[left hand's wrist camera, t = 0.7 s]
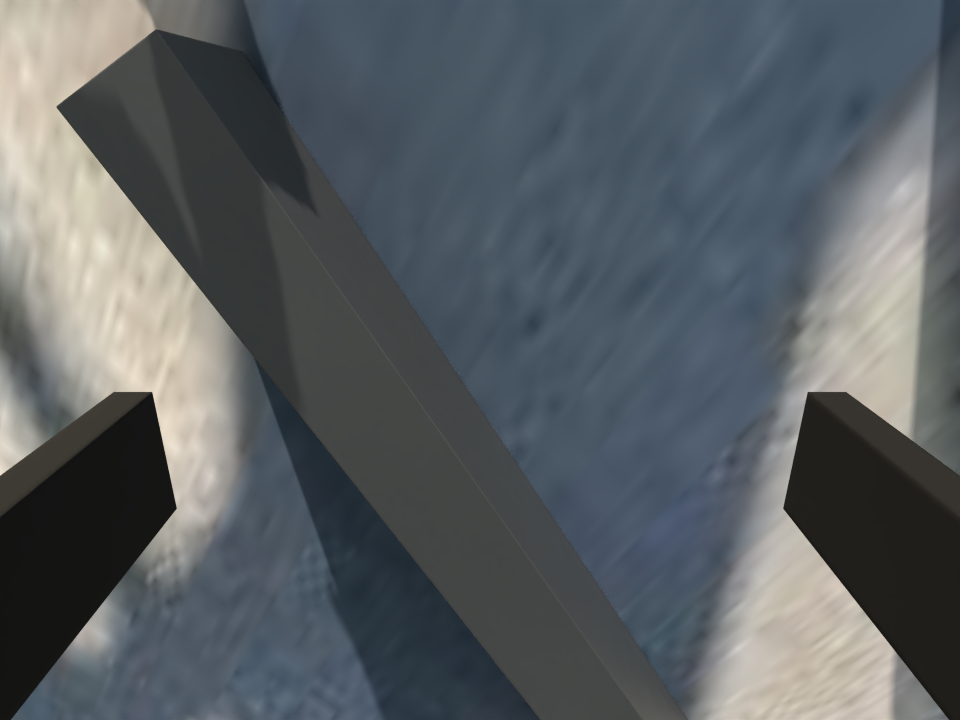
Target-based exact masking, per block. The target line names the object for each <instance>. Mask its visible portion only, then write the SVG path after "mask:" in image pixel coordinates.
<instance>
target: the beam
mask: <svg viewBox="0 0 960 720" xmlns="http://www.w3.org/2000/svg"><path fill="white" fill-rule="evenodd" d="M57 109H58V110H59V111H60V112H61V114H62V115H63V116H64V118H65V119H66V120H67V121H68V123H69V124H70V125H71V126H72V128H73V129H74V130H75V131H76V133H77V134H78V135H79V137H80V138H81V139H82V140H83V142H84V143H85V144H86V145H87V147H88V148H89V149H90V150H91V152H92V153H93V154H94V155H95V157H96V158H97V159H98V161H99V162H100V163H101V164H102V166H103V167H104V168H105V169H106V171H107V172H108V173H109V174H110V176H111V177H112V178H113V180H114V181H115V182H116V183H117V185H118V186H119V187H120V188H121V190H122V191H123V192H124V193H125V195H126V196H127V197H128V199H129V200H130V201H131V202H132V204H133V205H134V206H135V207H136V209H137V210H138V211H139V212H140V214H141V215H142V216H143V218H144V219H145V220H146V221H147V223H148V224H149V225H150V226H151V228H152V229H153V230H154V231H155V233H156V234H157V235H158V236H159V238H160V239H161V240H162V242H163V243H164V244H165V245H166V247H167V248H168V249H169V250H170V252H171V253H172V254H173V255H174V257H175V258H176V259H177V261H178V262H179V263H180V264H181V266H182V267H183V268H184V269H185V271H186V272H187V273H188V274H189V276H190V277H191V278H192V280H193V281H194V282H195V283H196V285H197V286H198V287H199V288H200V290H201V291H202V292H203V293H204V295H205V296H206V297H207V299H208V300H209V301H210V302H211V304H212V305H213V306H214V307H215V309H216V310H217V311H218V312H219V314H220V315H221V316H222V317H223V319H224V320H225V321H226V323H227V324H228V325H229V326H230V328H231V329H232V330H233V331H234V333H235V334H236V335H237V336H238V338H239V339H240V340H241V342H242V343H243V344H244V345H245V347H246V348H247V349H248V350H249V352H250V353H251V354H252V355H253V357H254V358H255V359H256V361H257V362H258V363H259V364H260V366H261V367H262V368H263V369H264V371H265V372H266V373H267V374H268V376H269V377H270V378H271V380H272V381H273V382H274V383H275V385H276V386H277V387H278V388H279V390H280V391H281V392H282V393H283V395H284V396H285V397H286V398H287V400H288V401H289V402H290V404H291V405H292V406H293V407H294V409H295V410H296V411H297V412H298V414H299V415H300V416H301V417H302V419H303V420H304V421H305V423H306V424H307V425H308V426H309V428H310V429H311V430H312V431H313V433H314V434H315V435H316V436H317V438H318V439H319V440H320V442H321V443H322V444H323V445H324V447H325V448H326V449H327V450H328V452H329V453H330V454H331V455H332V457H333V458H334V459H335V460H336V462H337V463H338V464H339V466H340V467H341V468H342V469H343V471H344V472H345V473H346V474H347V476H348V477H349V478H350V479H351V481H352V482H353V483H354V485H355V486H356V487H357V488H358V490H359V491H360V492H361V493H362V495H363V496H364V497H365V498H366V500H367V501H368V502H369V504H370V505H371V506H372V507H373V509H374V510H375V511H376V512H377V514H378V515H379V516H380V517H381V519H382V520H383V521H384V523H385V524H386V525H387V526H388V528H389V529H390V530H391V531H392V533H393V534H394V535H395V536H396V538H397V539H398V540H399V541H400V543H401V544H402V545H403V547H404V548H405V549H406V550H407V552H408V553H409V554H410V555H411V557H412V558H413V559H414V560H415V562H416V563H417V564H418V566H419V567H420V568H421V569H422V571H423V572H424V573H425V574H426V576H427V577H428V578H429V579H430V581H431V582H432V583H433V585H434V586H435V587H436V588H437V590H438V591H439V592H440V593H441V595H442V596H443V597H444V598H445V600H446V601H447V602H448V604H449V605H450V606H451V607H452V609H453V610H454V611H455V612H456V614H457V615H458V616H459V617H460V619H461V620H462V621H463V622H464V624H465V625H466V626H467V628H468V629H469V630H470V631H471V633H472V634H473V635H474V636H475V638H476V639H477V640H478V641H479V643H480V644H481V645H482V647H483V648H484V649H485V650H486V652H487V653H488V654H489V655H490V657H491V658H492V659H493V660H494V662H495V663H496V664H497V666H498V667H499V668H500V669H501V671H502V672H503V673H504V674H505V676H506V677H507V678H508V679H509V681H510V682H511V683H512V685H513V686H514V687H515V688H516V690H517V691H518V692H519V693H520V695H521V696H522V697H523V698H524V700H525V701H526V702H527V703H528V705H529V706H530V707H531V709H532V710H533V711H534V712H535V714H536V715H537V716H538V717H539V719H540V720H688V719H687V718H686V716H685V715H684V713H683V712H682V710H681V709H680V707H679V706H678V704H677V703H676V701H675V700H674V698H673V697H672V695H671V694H670V692H669V691H668V689H667V688H666V686H665V685H664V683H663V682H662V680H661V679H660V677H659V676H658V674H657V673H656V671H655V670H654V668H653V667H652V665H651V664H650V662H649V661H648V659H647V658H646V656H645V655H644V653H643V652H642V650H641V649H640V647H639V646H638V644H637V643H636V641H635V640H634V638H633V637H632V635H631V634H630V632H629V631H628V629H627V628H626V626H625V625H624V623H623V622H622V620H621V619H620V617H619V616H618V614H617V613H616V611H615V610H614V608H613V607H612V605H611V604H610V602H609V601H608V599H607V598H606V596H605V595H604V593H603V592H602V590H601V589H600V587H599V586H598V584H597V583H596V581H595V580H594V578H593V577H592V575H591V574H590V572H589V571H588V569H587V568H586V566H585V565H584V563H583V562H582V560H581V559H580V558H579V556H578V555H577V553H576V552H575V550H574V549H573V547H572V546H571V544H570V543H569V541H568V540H567V538H566V537H565V535H564V534H563V532H562V531H561V529H560V528H559V526H558V525H557V523H556V522H555V520H554V519H553V517H552V516H551V514H550V513H549V511H548V510H547V508H546V507H545V505H544V504H543V502H542V501H541V499H540V498H539V496H538V495H537V493H536V492H535V490H534V489H533V487H532V486H531V484H530V483H529V481H528V480H527V478H526V477H525V475H524V474H523V472H522V471H521V469H520V468H519V466H518V465H517V463H516V462H515V460H514V459H513V457H512V456H511V454H510V453H509V451H508V450H507V448H506V447H505V445H504V444H503V442H502V441H501V439H500V438H499V436H498V435H497V433H496V432H495V430H494V429H493V427H492V426H491V424H490V423H489V421H488V420H487V418H486V417H485V415H484V414H483V412H482V411H481V409H480V408H479V406H478V405H477V403H476V402H475V400H474V399H473V397H472V396H471V394H470V393H469V391H468V390H467V388H466V387H465V385H464V384H463V382H462V381H461V379H460V378H459V376H458V375H457V373H456V372H455V370H454V369H453V367H452V366H451V364H450V363H449V361H448V360H447V358H446V357H445V355H444V354H443V352H442V351H441V349H440V348H439V346H438V345H437V343H436V342H435V340H434V339H433V337H432V336H431V334H430V333H429V331H428V330H427V328H426V327H425V325H424V324H423V322H422V321H421V319H420V318H419V316H418V315H417V313H416V312H415V310H414V309H413V307H412V306H411V304H410V303H409V301H408V300H407V298H406V297H405V295H404V294H403V292H402V291H401V289H400V288H399V286H398V285H397V283H396V282H395V280H394V279H393V277H392V276H391V274H390V273H389V271H388V270H387V268H386V267H385V265H384V264H383V262H382V261H381V259H380V258H379V256H378V255H377V253H376V252H375V250H374V249H373V247H372V246H371V244H370V243H369V241H368V240H367V238H366V237H365V235H364V234H363V232H362V231H361V229H360V228H359V226H358V225H357V223H356V222H355V220H354V219H353V217H352V216H351V214H350V213H349V211H348V210H347V208H346V207H345V205H344V204H343V202H342V201H341V199H340V198H339V196H338V195H337V193H336V192H335V190H334V189H333V187H332V186H331V184H330V183H329V181H328V180H327V178H326V177H325V175H324V174H323V172H322V171H321V169H320V168H319V166H318V165H317V163H316V162H315V160H314V159H313V157H312V156H311V154H310V153H309V151H308V150H307V148H306V147H305V145H304V144H303V142H302V141H301V139H300V138H299V136H298V135H297V133H296V132H295V130H294V129H293V127H292V126H291V124H290V123H289V121H288V120H287V118H286V117H285V115H284V114H283V112H282V111H281V109H280V108H279V106H278V105H277V103H276V102H275V100H274V99H273V97H272V96H271V94H270V93H269V91H268V90H267V88H266V87H265V85H264V84H263V82H262V81H261V79H260V78H259V76H258V75H257V73H256V72H255V70H254V69H253V68H252V66H251V65H250V63H249V62H248V60H247V59H246V57H245V56H244V54H243V53H242V52H241V51H238V50H234V49H230V48H226V47H222V46H218V45H214V44H211V43H207V42H203V41H199V40H195V39H191V38H188V37H184V36H180V35H176V34H172V33H168V32H164V31H161V30H155V31H153V32H152V33H151V34H149V35H148V36H147V37H146V38H144V39H143V40H142V41H140V42H139V43H138V44H136V45H135V46H134V47H133V48H131V49H130V50H129V51H127V52H126V53H125V54H124V55H122V56H121V57H120V58H118V59H117V60H116V61H115V62H113V63H112V64H111V65H109V66H108V67H107V68H105V69H104V70H103V71H102V72H100V73H99V74H98V75H96V76H95V77H94V78H93V79H91V80H90V81H89V82H87V83H86V84H85V85H84V86H82V87H81V88H80V89H78V90H77V91H76V92H75V93H73V94H72V95H71V96H69V97H68V98H67V99H65V100H64V101H63V102H62V103H60V104H59V105H58V106H57Z"/></svg>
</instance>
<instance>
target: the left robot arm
mask: <svg viewBox="0 0 960 720" xmlns="http://www.w3.org/2000/svg"><path fill="white" fill-rule="evenodd" d="M176 509H177V508H176V503H175V498H174V493H173V489H172V484H171V479H170V474H169V470H168V465H167V460H166V455H165V451H164V446H163V441H162V436H161V432H160V427H159V422H158V418H157V413H156V408H155V403H154V399H153V394H152V392H113V393H112V394H111V395H109V396H108V397H107V398H105V399H104V400H103V401H101V402H100V403H98V404H97V405H96V406H94V407H93V408H92V409H90V410H89V411H88V412H86V413H85V414H83V415H82V416H81V417H79V418H78V419H77V420H75V421H74V422H73V423H71V424H70V425H69V426H67V427H66V428H64V429H63V430H62V431H60V432H59V433H58V434H56V435H55V436H54V437H52V438H51V439H50V440H48V441H47V442H45V443H44V444H43V445H41V446H40V447H39V448H37V449H36V450H35V451H33V452H32V453H31V454H29V455H28V456H26V457H25V458H24V459H22V460H21V461H20V462H18V463H17V464H16V465H14V466H13V467H12V468H10V469H9V470H7V471H6V472H5V473H3V474H2V475H1V476H0V720H11V719H12V718H13V716H14V715H15V714H16V712H17V711H18V710H19V709H20V707H21V706H22V705H23V704H24V702H25V701H26V700H27V698H28V697H29V696H30V695H31V693H32V692H33V691H34V690H35V688H36V687H37V686H38V684H39V683H40V682H41V681H42V679H43V678H44V677H45V676H46V674H47V673H48V672H49V670H50V669H51V668H52V667H53V665H54V664H55V663H56V662H57V660H58V659H59V658H60V656H61V655H62V654H63V653H64V651H65V650H66V649H67V648H68V646H69V645H70V644H71V642H72V641H73V640H74V639H75V637H76V636H77V635H78V634H79V632H80V631H81V630H82V628H83V627H84V626H85V625H86V623H87V622H88V621H89V620H90V618H91V617H92V616H93V614H94V613H95V612H96V611H97V609H98V608H99V607H100V606H101V604H102V603H103V602H104V600H105V599H106V598H107V597H108V595H109V594H110V593H111V592H112V590H113V589H114V588H115V586H116V585H117V584H118V583H119V581H120V580H121V579H122V578H123V576H124V575H125V574H126V572H127V571H128V570H129V569H130V567H131V566H132V565H133V564H134V562H135V561H136V560H137V558H138V557H139V556H140V555H141V553H142V552H143V551H144V550H145V548H146V547H147V546H148V544H149V543H150V542H151V541H152V539H153V538H154V537H155V536H156V534H157V533H158V532H159V530H160V529H161V528H162V527H163V525H164V524H165V523H166V522H167V520H168V519H169V518H170V516H171V515H172V514H173V513H174V511H175V510H176ZM783 509H784V510H785V511H786V513H787V514H788V515H789V516H790V518H791V519H792V520H793V522H794V523H795V524H796V525H797V527H798V528H799V529H800V530H801V532H802V533H803V534H804V536H805V537H806V538H807V539H808V541H809V542H810V543H811V544H812V546H813V547H814V548H815V550H816V551H817V552H818V553H819V555H820V556H821V557H822V558H823V560H824V561H825V562H826V564H827V565H828V566H829V567H830V569H831V570H832V571H833V572H834V574H835V575H836V576H837V578H838V579H839V580H840V581H841V583H842V584H843V585H844V586H845V588H846V589H847V590H848V592H849V593H850V594H851V595H852V597H853V598H854V599H855V600H856V602H857V603H858V604H859V606H860V607H861V608H862V609H863V611H864V612H865V613H866V614H867V616H868V617H869V618H870V620H871V621H872V622H873V623H874V625H875V626H876V627H877V628H878V630H879V631H880V632H881V634H882V635H883V636H884V637H885V639H886V640H887V641H888V642H889V644H890V645H891V646H892V648H893V649H894V650H895V651H896V653H897V654H898V655H899V656H900V658H901V659H902V660H903V662H904V663H905V664H906V665H907V667H908V668H909V669H910V670H911V672H912V673H913V674H914V676H915V677H916V678H917V679H918V681H919V682H920V683H921V684H922V686H923V687H924V688H925V690H926V691H927V692H928V693H929V695H930V696H931V697H932V698H933V700H934V701H935V702H936V704H937V705H938V706H939V707H940V709H941V710H942V711H943V712H944V714H945V715H946V716H947V718H948V719H949V720H960V476H959V475H958V474H957V473H955V472H954V471H953V470H951V469H950V468H948V467H947V466H946V465H944V464H943V463H942V462H940V461H939V460H938V459H936V458H935V457H934V456H932V455H931V454H929V453H928V452H927V451H925V450H924V449H923V448H921V447H920V446H919V445H917V444H916V443H915V442H913V441H912V440H910V439H909V438H908V437H906V436H905V435H904V434H902V433H901V432H900V431H898V430H897V429H896V428H894V427H893V426H891V425H890V424H889V423H887V422H886V421H885V420H883V419H882V418H881V417H879V416H878V415H877V414H875V413H874V412H872V411H871V410H870V409H868V408H867V407H866V406H864V405H863V404H862V403H860V402H859V401H857V400H856V399H855V398H853V397H852V396H851V395H849V394H848V393H847V392H808V394H807V399H806V403H805V408H804V413H803V418H802V422H801V427H800V432H799V436H798V441H797V446H796V451H795V455H794V460H793V465H792V470H791V474H790V479H789V484H788V489H787V493H786V498H785V503H784V508H783Z"/></svg>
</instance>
